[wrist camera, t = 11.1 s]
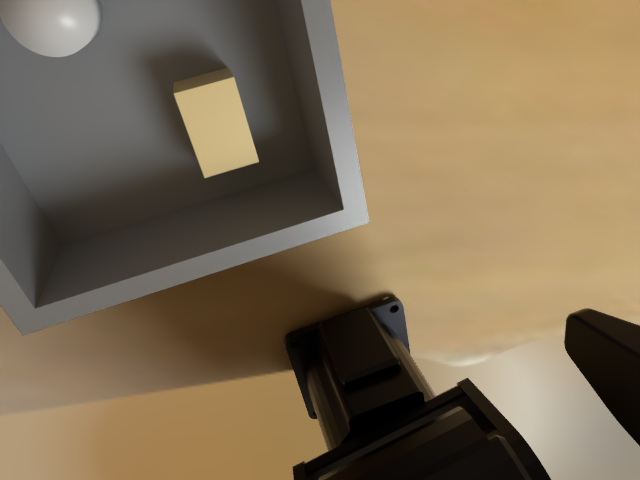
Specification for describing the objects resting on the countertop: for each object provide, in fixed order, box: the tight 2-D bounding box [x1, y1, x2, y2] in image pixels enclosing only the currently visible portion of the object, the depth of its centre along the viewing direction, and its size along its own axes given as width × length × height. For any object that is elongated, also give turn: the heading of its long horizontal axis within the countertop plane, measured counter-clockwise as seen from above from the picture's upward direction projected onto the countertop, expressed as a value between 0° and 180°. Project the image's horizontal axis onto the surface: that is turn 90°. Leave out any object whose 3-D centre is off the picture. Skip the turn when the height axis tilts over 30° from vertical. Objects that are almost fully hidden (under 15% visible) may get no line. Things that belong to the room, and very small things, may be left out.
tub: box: [0, 0, 369, 336], centre depth 15 cm, size 12×12×5 cm
